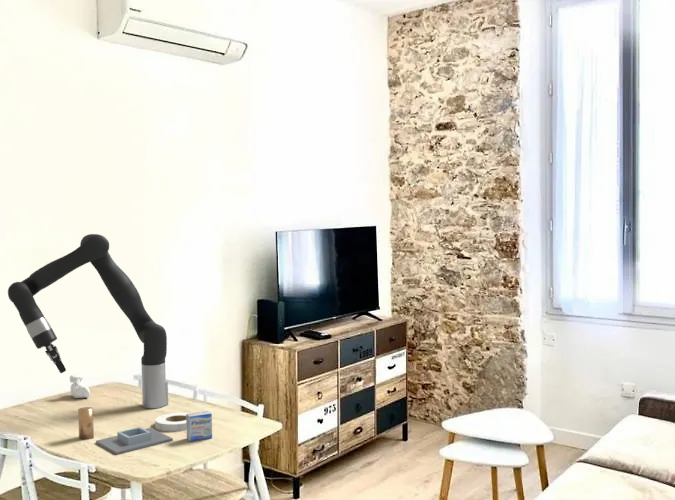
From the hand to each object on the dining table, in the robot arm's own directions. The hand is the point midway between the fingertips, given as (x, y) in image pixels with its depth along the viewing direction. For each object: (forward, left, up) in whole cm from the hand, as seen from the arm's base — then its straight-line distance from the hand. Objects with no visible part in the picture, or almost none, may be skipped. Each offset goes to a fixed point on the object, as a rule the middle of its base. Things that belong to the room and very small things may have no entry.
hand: (63, 371), depth 252 cm
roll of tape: (-31, +25, -21) cm, 45 cm away
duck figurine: (-20, -38, -21) cm, 48 cm away
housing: (-11, +32, -21) cm, 40 cm away
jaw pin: (-1, +16, -21) cm, 26 cm away
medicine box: (-29, +44, -21) cm, 57 cm away
